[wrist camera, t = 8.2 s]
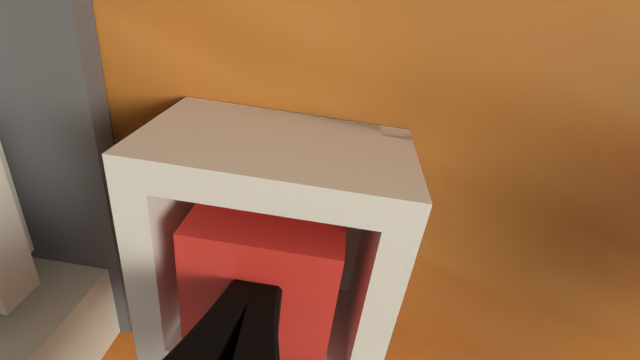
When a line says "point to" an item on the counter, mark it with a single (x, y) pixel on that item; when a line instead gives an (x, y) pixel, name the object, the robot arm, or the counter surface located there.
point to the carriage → (13, 246)
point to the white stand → (60, 181)
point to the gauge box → (269, 207)
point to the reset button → (263, 270)
